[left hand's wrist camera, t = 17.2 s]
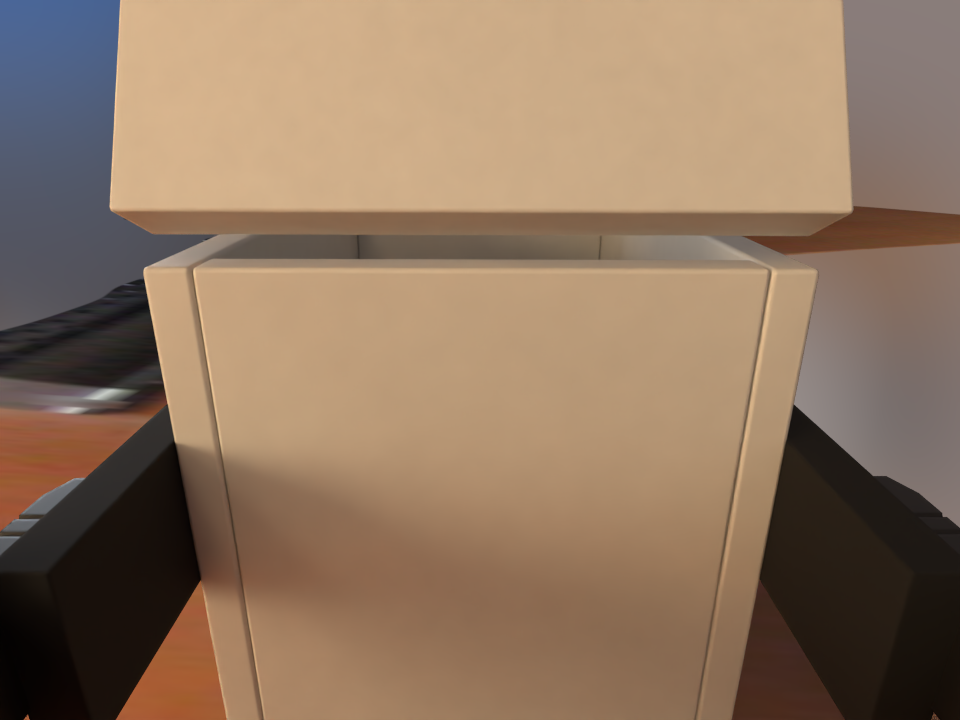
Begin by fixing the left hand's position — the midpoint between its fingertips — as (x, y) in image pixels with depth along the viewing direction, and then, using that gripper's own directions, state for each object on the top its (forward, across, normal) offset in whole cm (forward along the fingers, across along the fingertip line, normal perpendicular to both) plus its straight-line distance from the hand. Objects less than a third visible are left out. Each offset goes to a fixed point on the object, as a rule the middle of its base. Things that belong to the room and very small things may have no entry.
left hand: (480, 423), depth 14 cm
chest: (+3, 0, -7) cm, 7 cm away
